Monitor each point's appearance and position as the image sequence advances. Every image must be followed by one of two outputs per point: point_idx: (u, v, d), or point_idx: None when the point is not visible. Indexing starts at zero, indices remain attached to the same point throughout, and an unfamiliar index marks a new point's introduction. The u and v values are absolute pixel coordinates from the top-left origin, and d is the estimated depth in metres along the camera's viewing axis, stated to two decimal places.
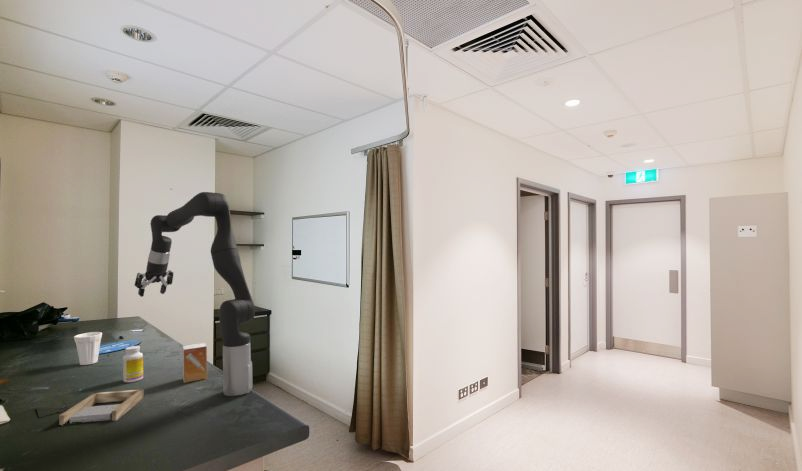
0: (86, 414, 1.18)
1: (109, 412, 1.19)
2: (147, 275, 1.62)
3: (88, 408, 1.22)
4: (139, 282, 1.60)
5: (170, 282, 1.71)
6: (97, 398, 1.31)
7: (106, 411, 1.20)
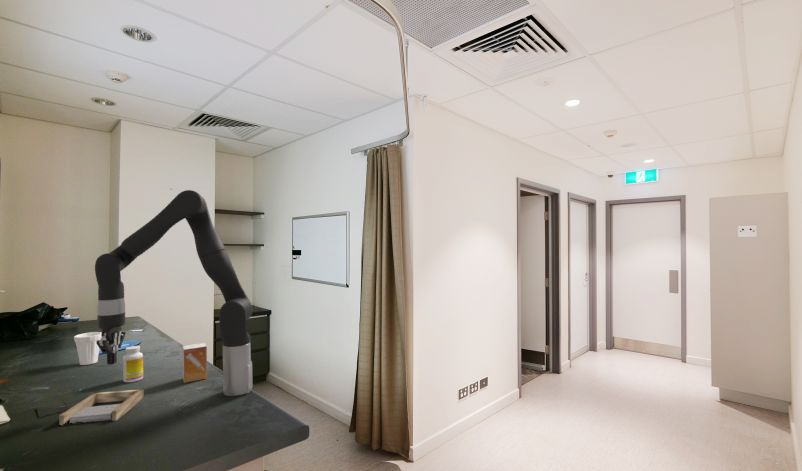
0: (86, 414, 1.18)
1: (110, 412, 1.19)
2: (108, 335, 1.26)
3: (88, 408, 1.22)
4: (108, 347, 1.26)
5: (120, 344, 1.32)
6: (97, 398, 1.31)
7: (106, 411, 1.20)
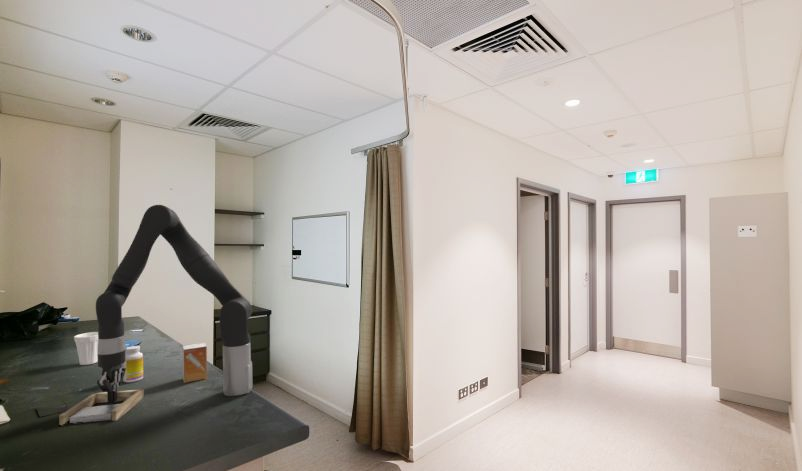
0: (86, 414, 1.18)
1: (110, 412, 1.20)
2: (108, 374, 1.26)
3: (87, 408, 1.22)
4: (109, 386, 1.26)
5: (120, 382, 1.32)
6: (97, 398, 1.31)
7: (106, 411, 1.20)
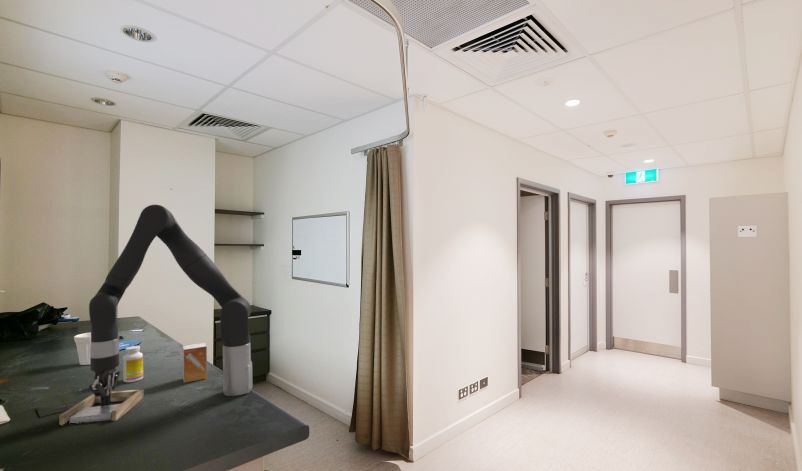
0: (86, 414, 1.18)
1: (110, 412, 1.19)
2: (101, 378, 1.22)
3: (87, 409, 1.22)
4: (102, 391, 1.22)
5: (114, 386, 1.29)
6: (97, 398, 1.31)
7: (106, 411, 1.20)
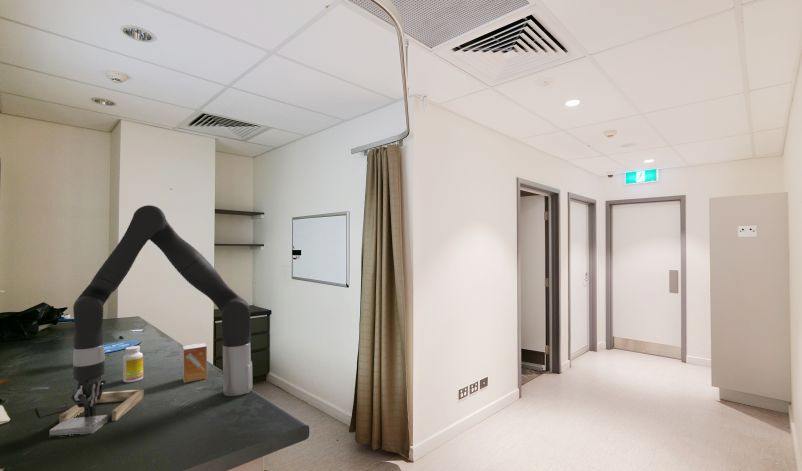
0: (67, 427, 1.10)
1: (92, 424, 1.11)
2: (84, 388, 1.14)
3: (70, 420, 1.14)
4: (85, 401, 1.14)
5: (99, 395, 1.21)
6: None
7: (89, 423, 1.12)
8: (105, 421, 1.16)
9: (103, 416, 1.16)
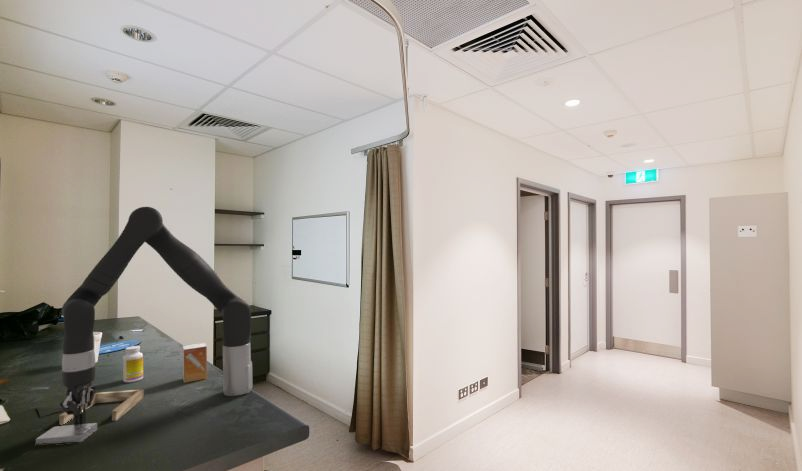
0: (54, 435, 1.05)
1: (80, 433, 1.06)
2: (74, 394, 1.09)
3: (58, 428, 1.10)
4: (75, 408, 1.09)
5: (90, 402, 1.16)
6: (97, 398, 1.31)
7: (77, 432, 1.07)
8: (94, 429, 1.11)
9: (92, 424, 1.12)
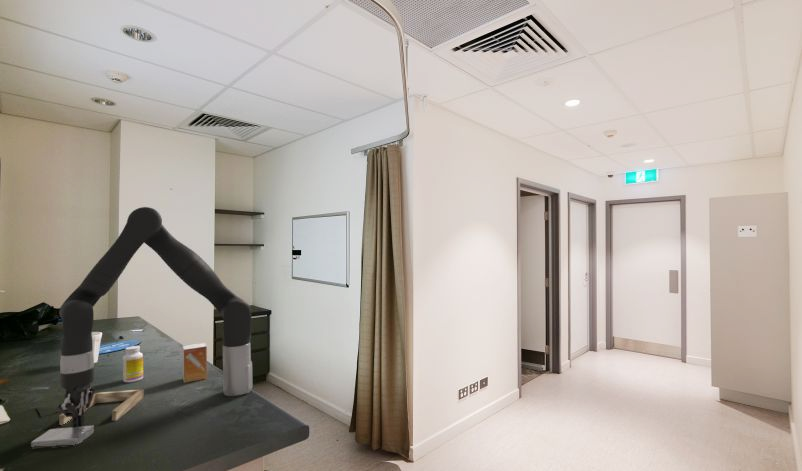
0: (50, 438, 1.04)
1: (77, 436, 1.05)
2: (72, 396, 1.08)
3: (54, 431, 1.08)
4: (73, 410, 1.08)
5: (88, 404, 1.15)
6: (97, 398, 1.31)
7: (73, 435, 1.06)
8: (91, 432, 1.10)
9: (89, 427, 1.10)
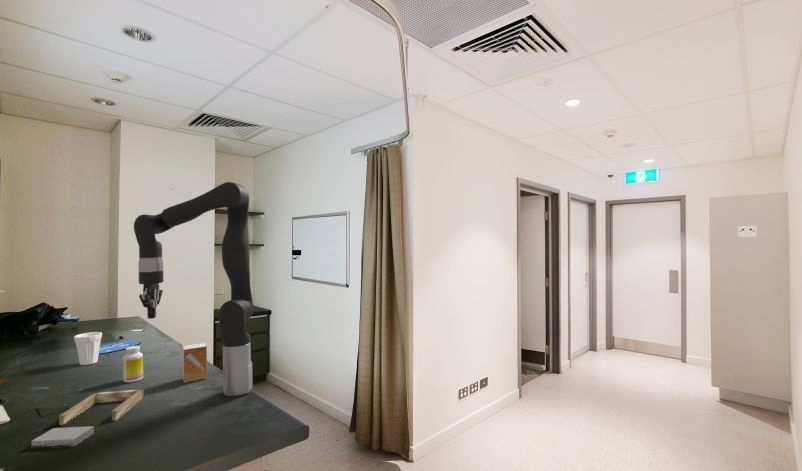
0: (50, 438, 1.04)
1: (74, 437, 1.04)
2: (149, 290, 1.35)
3: (56, 430, 1.08)
4: (149, 301, 1.35)
5: (158, 301, 1.42)
6: (97, 398, 1.31)
7: (72, 435, 1.05)
8: (91, 433, 1.09)
9: (89, 427, 1.10)
